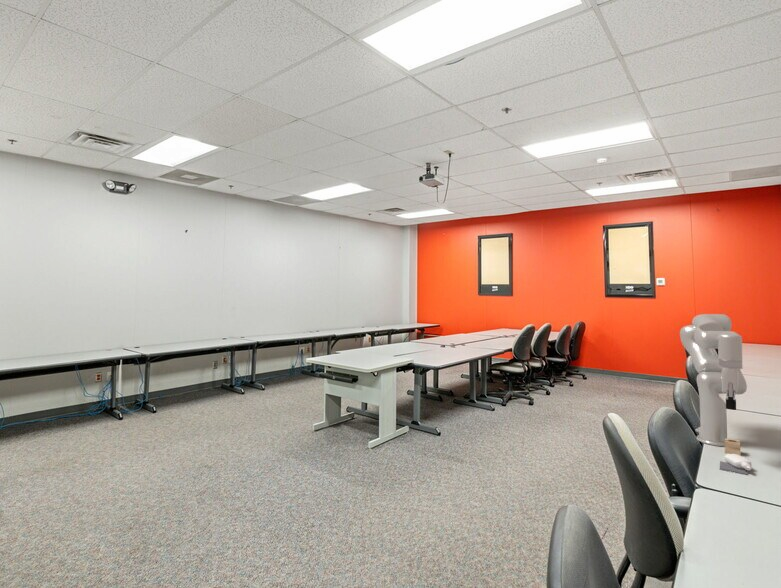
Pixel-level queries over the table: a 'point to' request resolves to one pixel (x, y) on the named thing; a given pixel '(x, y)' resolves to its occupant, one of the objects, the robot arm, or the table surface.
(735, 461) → the eye dropper bottle
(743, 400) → the table surface
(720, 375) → the robot arm
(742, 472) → the mat
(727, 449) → the oak cube
